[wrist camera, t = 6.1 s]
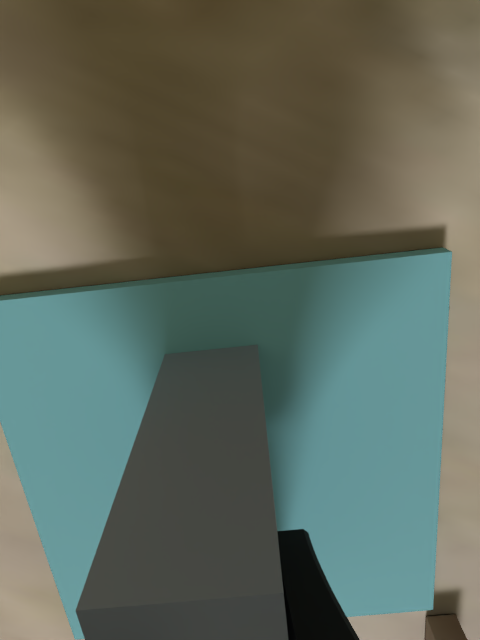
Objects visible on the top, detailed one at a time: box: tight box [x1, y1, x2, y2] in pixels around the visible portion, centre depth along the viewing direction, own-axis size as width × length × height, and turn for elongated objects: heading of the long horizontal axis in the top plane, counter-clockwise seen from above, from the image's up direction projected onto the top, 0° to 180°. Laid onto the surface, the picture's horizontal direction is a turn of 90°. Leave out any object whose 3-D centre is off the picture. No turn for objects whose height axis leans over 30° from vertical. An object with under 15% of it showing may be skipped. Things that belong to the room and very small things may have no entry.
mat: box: [0, 248, 452, 639], centre depth 13 cm, size 12×12×1 cm
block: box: [76, 345, 289, 640], centre depth 10 cm, size 2×8×7 cm, turn 6°
